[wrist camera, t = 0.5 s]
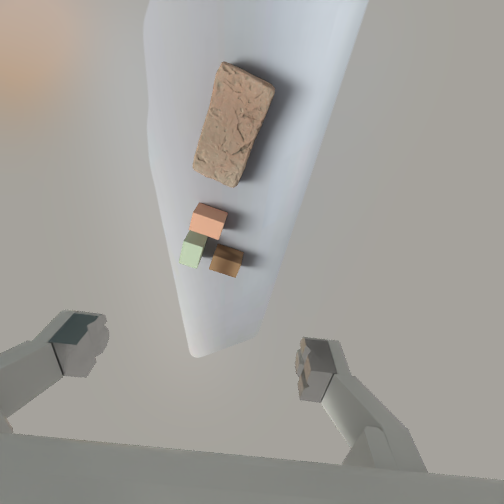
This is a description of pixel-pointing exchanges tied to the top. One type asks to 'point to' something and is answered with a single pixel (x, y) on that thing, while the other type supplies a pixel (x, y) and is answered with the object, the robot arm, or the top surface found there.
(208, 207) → the terracotta block
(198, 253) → the sage block
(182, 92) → the top surface
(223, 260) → the walnut block
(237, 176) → the brick
